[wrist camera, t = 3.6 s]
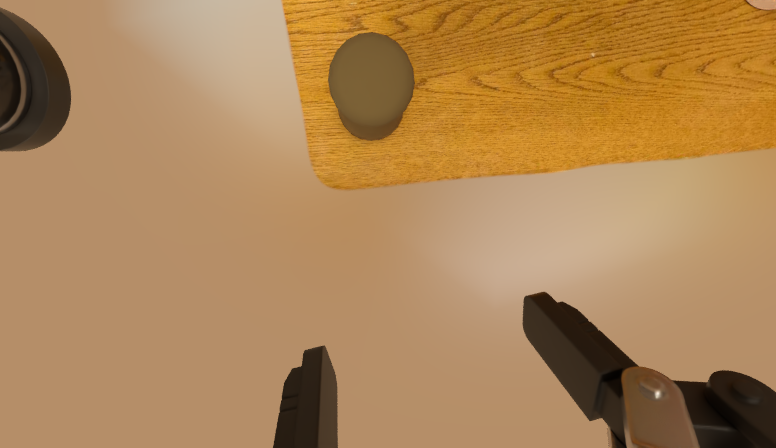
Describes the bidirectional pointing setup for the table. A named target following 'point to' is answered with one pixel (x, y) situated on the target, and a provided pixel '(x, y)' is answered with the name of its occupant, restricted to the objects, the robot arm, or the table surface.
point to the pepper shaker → (371, 84)
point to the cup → (763, 4)
